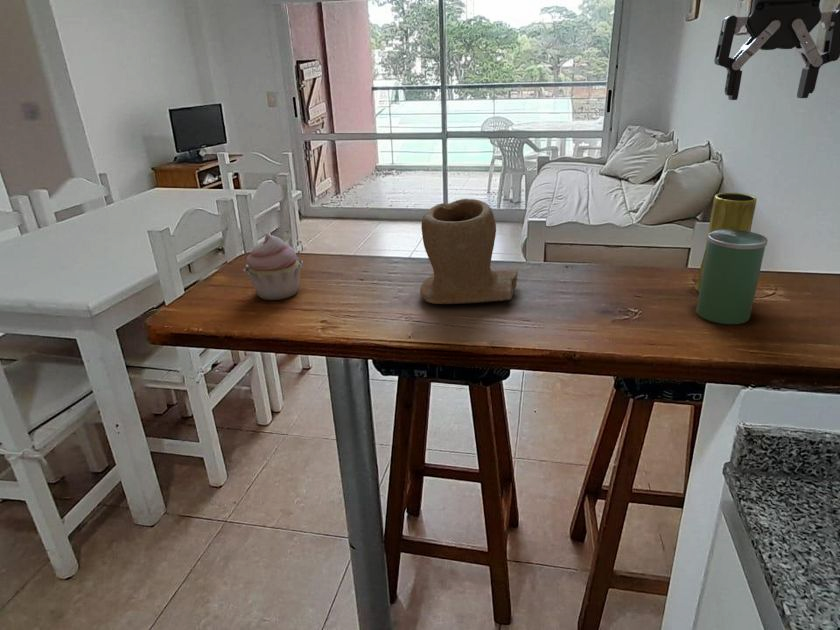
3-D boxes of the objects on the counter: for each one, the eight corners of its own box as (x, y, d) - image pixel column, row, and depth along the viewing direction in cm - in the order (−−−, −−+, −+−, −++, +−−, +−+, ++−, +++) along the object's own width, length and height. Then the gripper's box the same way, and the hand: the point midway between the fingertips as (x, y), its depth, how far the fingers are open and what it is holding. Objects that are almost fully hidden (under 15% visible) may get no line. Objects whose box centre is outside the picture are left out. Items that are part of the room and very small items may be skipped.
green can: (743, 305, 81) (759, 230, 76) (756, 326, 75) (774, 246, 70) (691, 302, 82) (703, 228, 78) (700, 323, 76) (714, 244, 72)
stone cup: (417, 317, 82) (413, 214, 76) (422, 285, 93) (418, 193, 86) (524, 315, 81) (528, 211, 75) (516, 284, 92) (519, 190, 85)
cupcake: (246, 288, 95) (235, 230, 91) (302, 279, 98) (294, 222, 93) (250, 309, 87) (238, 246, 83) (311, 298, 90) (303, 237, 85)
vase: (704, 280, 90) (720, 189, 84) (746, 290, 86) (767, 195, 80) (688, 292, 86) (704, 197, 80) (731, 302, 82) (751, 204, 76)
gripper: (738, -39, 69) (716, 103, 76) (873, -50, 66) (837, 99, 73) (723, -32, 76) (704, 98, 83) (846, -41, 73) (815, 95, 80)
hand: (767, 98), depth 78 cm, fingers open, 8 cm apart
